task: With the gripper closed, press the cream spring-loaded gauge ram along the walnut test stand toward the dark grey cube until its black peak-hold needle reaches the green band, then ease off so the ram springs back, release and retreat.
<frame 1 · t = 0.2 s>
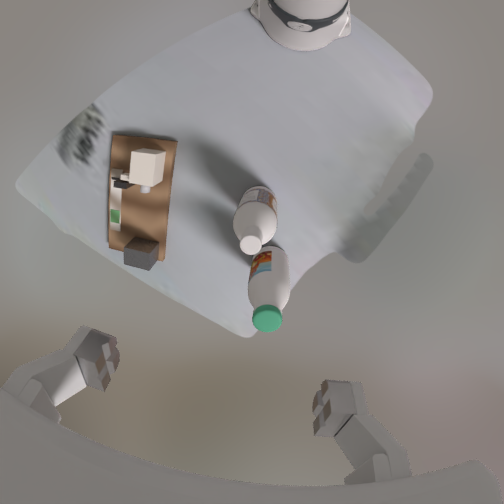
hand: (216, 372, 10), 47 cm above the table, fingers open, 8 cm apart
dark grey cube: (149, 244, 62), resting on test stand
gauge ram: (141, 170, 50), point 4 cm above the table, slide at 0.0 cm
bath foam: (259, 202, 56), on the table
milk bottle: (270, 260, 61), on the table
test stand: (139, 197, 57), on the table
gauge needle: (119, 182, 52), point 4 cm above the table, slide at 0.0 cm
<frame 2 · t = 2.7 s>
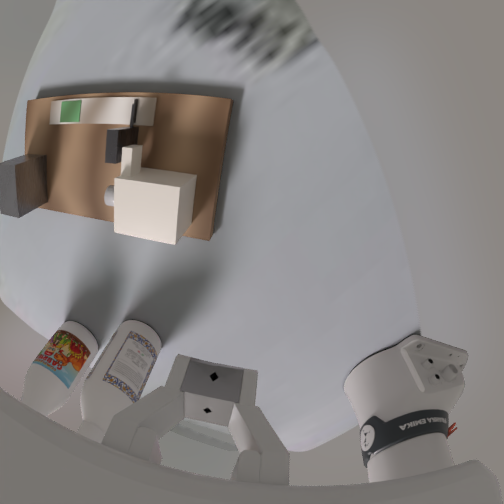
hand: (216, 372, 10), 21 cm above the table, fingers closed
dark grey cube: (44, 174, 28), resting on test stand
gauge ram: (146, 187, 24), point 4 cm above the table, slide at 0.0 cm
bath foam: (141, 335, 38), on the table
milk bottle: (81, 336, 41), on the table
test stand: (107, 155, 27), on the table
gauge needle: (123, 131, 23), point 4 cm above the table, slide at 0.0 cm
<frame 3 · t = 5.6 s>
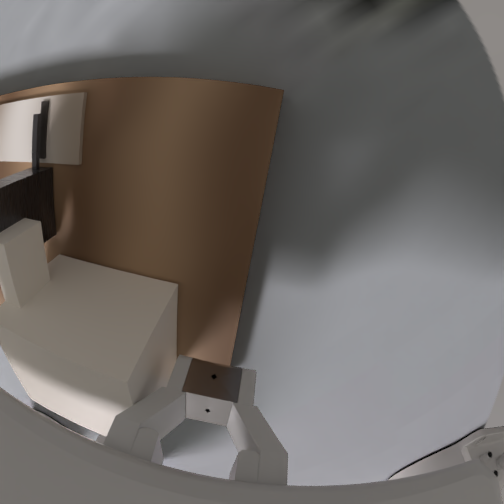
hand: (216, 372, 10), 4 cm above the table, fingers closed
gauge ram: (66, 320, 9), point 4 cm above the table, slide at 0.6 cm, touching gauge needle, gripper
test stand: (22, 218, 12), on the table
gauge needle: (11, 188, 8), point 4 cm above the table, slide at 0.1 cm, touching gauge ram
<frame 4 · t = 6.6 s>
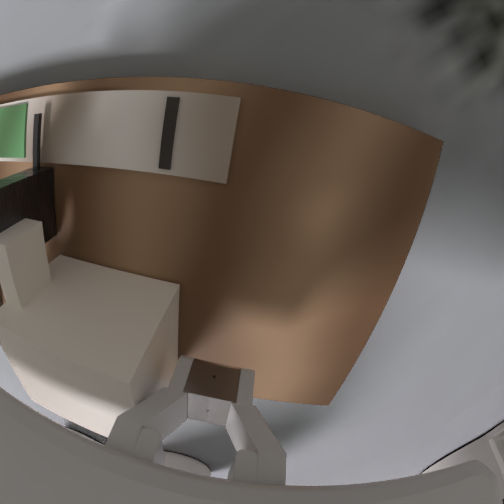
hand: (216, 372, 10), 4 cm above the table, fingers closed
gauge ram: (67, 321, 9), point 4 cm above the table, slide at 6.3 cm, touching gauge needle, gripper
bath foam: (179, 461, 23), on the table
test stand: (97, 235, 12), on the table
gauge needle: (12, 188, 7), point 4 cm above the table, slide at 5.8 cm, touching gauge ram
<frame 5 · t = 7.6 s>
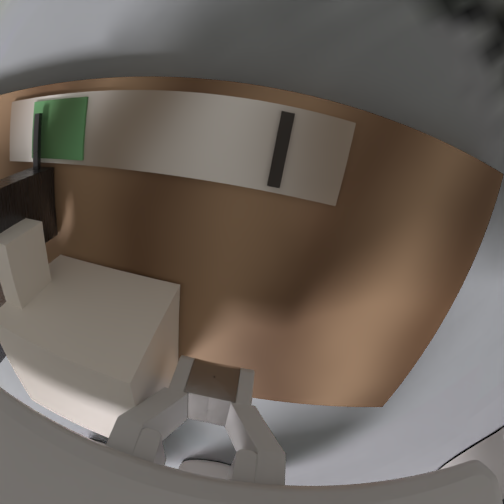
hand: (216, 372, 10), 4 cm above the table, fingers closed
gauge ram: (68, 321, 9), point 4 cm above the table, slide at 9.8 cm, touching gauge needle, gripper
bath foam: (212, 468, 23), on the table
test stand: (166, 249, 12), on the table
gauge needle: (12, 187, 7), point 4 cm above the table, slide at 9.3 cm, touching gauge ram
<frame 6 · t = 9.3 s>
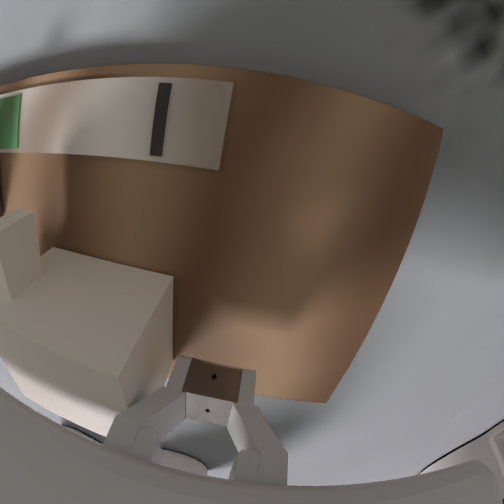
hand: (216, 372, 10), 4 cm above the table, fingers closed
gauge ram: (59, 314, 9), point 4 cm above the table, slide at 6.2 cm, touching gripper
bath foam: (176, 459, 23), on the table
test stand: (90, 227, 12), on the table
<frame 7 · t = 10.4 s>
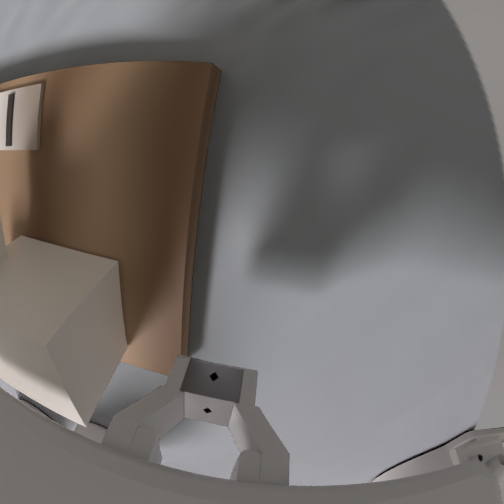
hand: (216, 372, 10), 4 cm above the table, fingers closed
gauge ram: (19, 294, 9), point 4 cm above the table, slide at 0.8 cm
bath foam: (107, 436, 23), on the table
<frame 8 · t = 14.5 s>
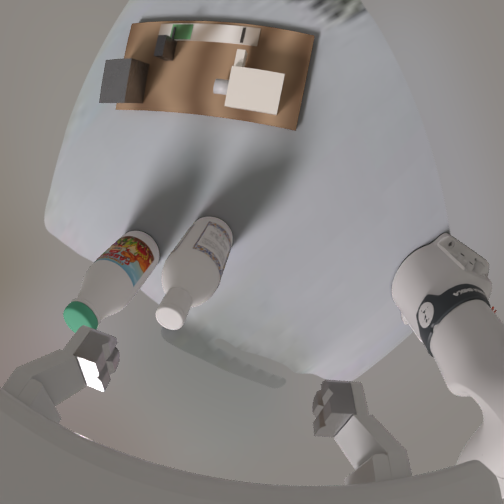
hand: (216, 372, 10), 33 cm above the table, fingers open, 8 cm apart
dark grey cube: (138, 84, 34), resting on test stand
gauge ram: (249, 80, 30), point 4 cm above the table, slide at 0.8 cm
bath foam: (211, 236, 44), on the table
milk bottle: (140, 249, 46), on the table
test stand: (209, 67, 33), on the table
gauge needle: (167, 40, 28), point 4 cm above the table, slide at 9.4 cm
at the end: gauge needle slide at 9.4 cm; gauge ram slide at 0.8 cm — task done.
